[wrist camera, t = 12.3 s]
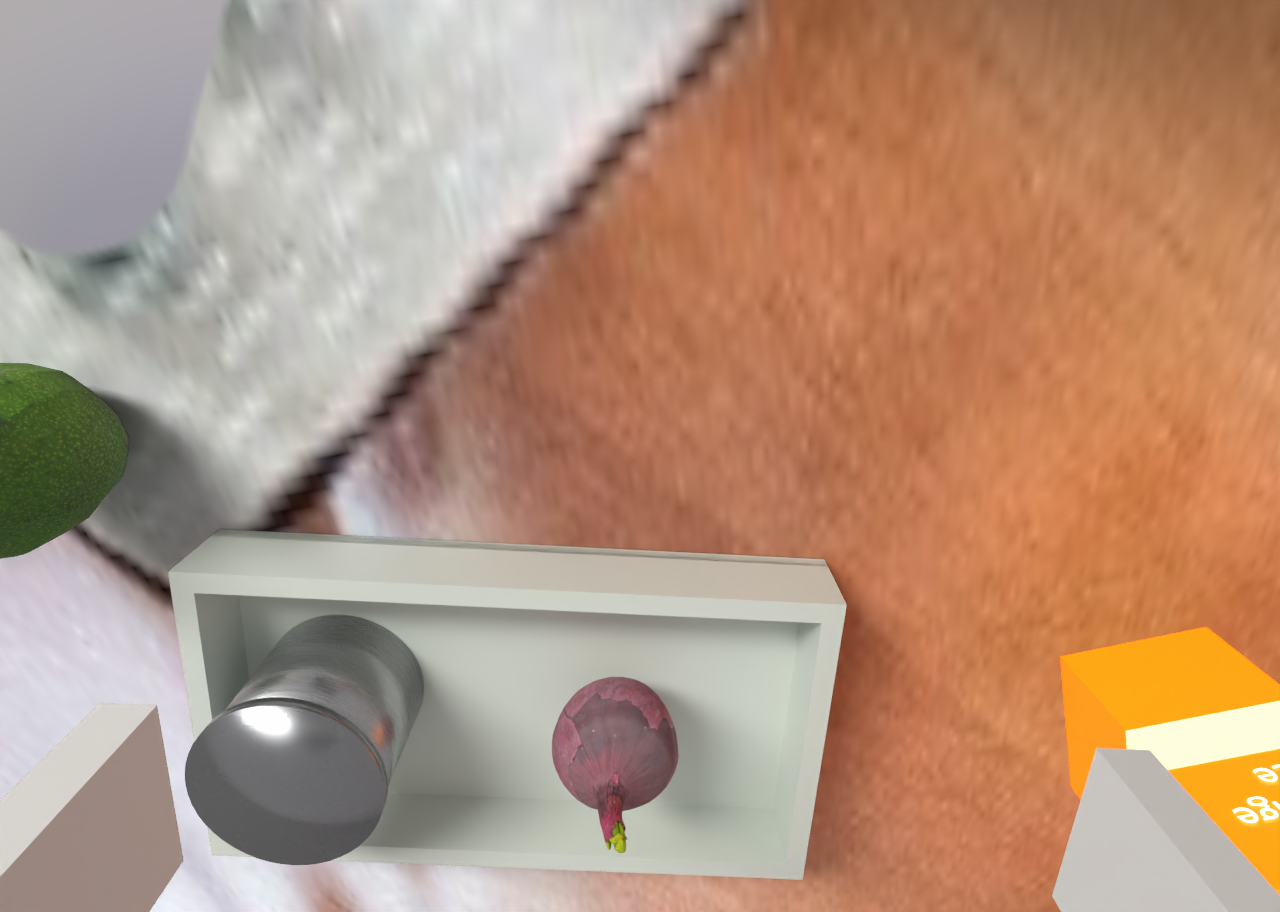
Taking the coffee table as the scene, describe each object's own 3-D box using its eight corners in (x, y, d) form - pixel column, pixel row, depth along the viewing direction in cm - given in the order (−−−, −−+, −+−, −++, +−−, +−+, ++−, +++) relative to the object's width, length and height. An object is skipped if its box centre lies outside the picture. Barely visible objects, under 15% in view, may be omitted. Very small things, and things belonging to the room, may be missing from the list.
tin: (256, 607, 40) (172, 701, 32) (425, 615, 40) (378, 711, 33) (272, 745, 42) (198, 861, 35) (430, 752, 43) (388, 868, 35)
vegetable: (586, 757, 43) (571, 921, 33) (538, 666, 41) (508, 813, 31) (692, 722, 42) (707, 879, 33) (648, 627, 40) (652, 765, 31)
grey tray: (218, 529, 39) (168, 571, 35) (824, 559, 40) (846, 604, 35) (252, 790, 44) (211, 855, 40) (787, 813, 45) (802, 879, 41)
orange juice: (1068, 787, 44) (1385, 1236, 26) (1057, 655, 42) (1405, 1050, 23) (1211, 760, 44) (1645, 1198, 25) (1210, 624, 41) (1698, 1003, 22)
